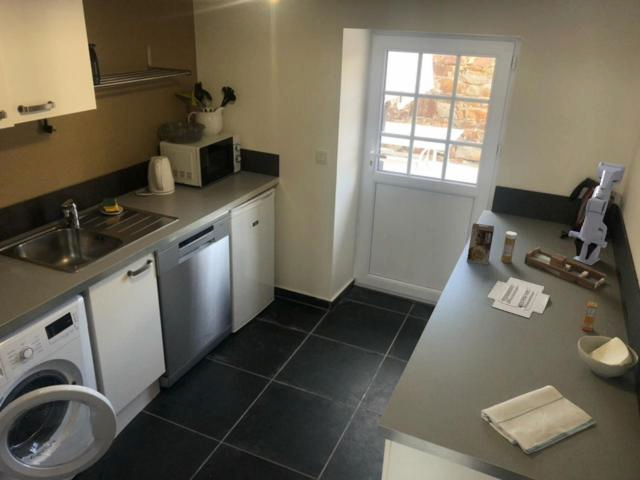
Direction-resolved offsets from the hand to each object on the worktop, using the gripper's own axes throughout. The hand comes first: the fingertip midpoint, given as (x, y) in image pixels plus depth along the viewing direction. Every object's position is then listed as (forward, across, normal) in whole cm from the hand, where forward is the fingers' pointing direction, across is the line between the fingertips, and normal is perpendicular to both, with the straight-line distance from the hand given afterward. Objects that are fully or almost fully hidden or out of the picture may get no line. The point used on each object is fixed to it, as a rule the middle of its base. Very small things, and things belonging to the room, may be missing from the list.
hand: (582, 257), depth 219 cm
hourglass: (+10, +20, -36) cm, 42 cm away
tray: (+10, -7, -35) cm, 37 cm away
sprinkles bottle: (+10, -27, -10) cm, 31 cm away
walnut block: (+7, -9, 0) cm, 12 cm away
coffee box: (+10, -35, -20) cm, 42 cm away
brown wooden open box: (+9, -6, 0) cm, 11 cm away
